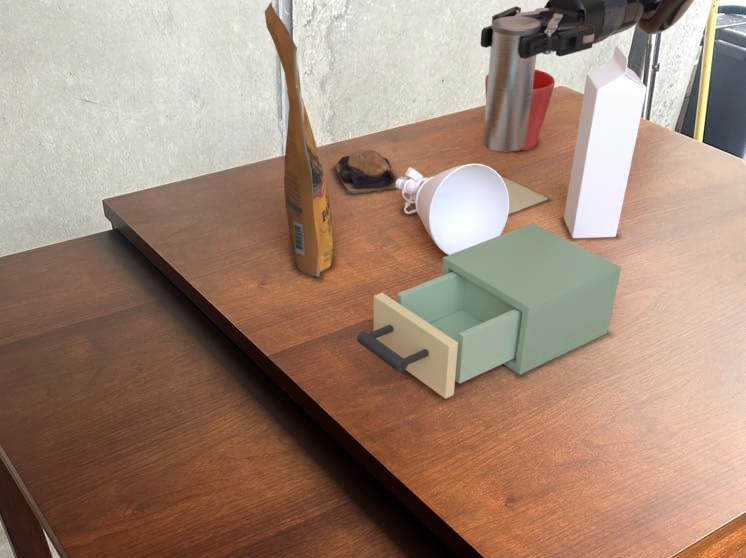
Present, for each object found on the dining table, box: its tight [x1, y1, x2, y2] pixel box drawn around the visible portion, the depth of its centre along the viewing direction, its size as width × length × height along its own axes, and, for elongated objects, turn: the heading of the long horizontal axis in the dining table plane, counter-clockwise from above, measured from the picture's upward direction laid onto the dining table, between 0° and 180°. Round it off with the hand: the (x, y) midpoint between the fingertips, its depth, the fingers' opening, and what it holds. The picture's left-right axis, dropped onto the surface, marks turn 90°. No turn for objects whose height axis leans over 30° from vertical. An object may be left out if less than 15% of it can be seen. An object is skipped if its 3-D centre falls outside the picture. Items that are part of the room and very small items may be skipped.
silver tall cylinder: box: [482, 16, 541, 153], centre depth 116 cm, size 6×6×15 cm
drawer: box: [356, 271, 522, 400], centre depth 94 cm, size 17×13×6 cm
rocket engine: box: [395, 163, 509, 256], centre depth 118 cm, size 12×12×18 cm
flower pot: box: [484, 69, 556, 152], centre depth 138 cm, size 11×11×10 cm
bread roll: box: [335, 149, 397, 195], centre depth 132 cm, size 11×8×4 cm
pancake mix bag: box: [264, 1, 334, 278], centre depth 107 cm, size 7×19×28 cm, turn 4°
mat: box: [500, 175, 549, 215], centre depth 127 cm, size 10×10×1 cm
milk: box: [563, 44, 648, 239], centre depth 111 cm, size 6×6×22 cm
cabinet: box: [441, 222, 622, 376], centre depth 99 cm, size 14×14×8 cm
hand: (502, 43), depth 111 cm, fingers closed on silver tall cylinder, 6 cm apart
